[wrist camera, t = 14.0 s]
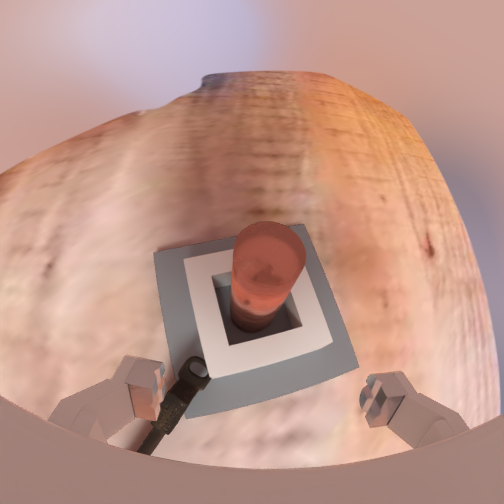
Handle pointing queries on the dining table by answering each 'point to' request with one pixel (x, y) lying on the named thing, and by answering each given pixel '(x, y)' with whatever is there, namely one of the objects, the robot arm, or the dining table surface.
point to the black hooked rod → (175, 404)
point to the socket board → (243, 343)
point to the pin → (263, 273)
